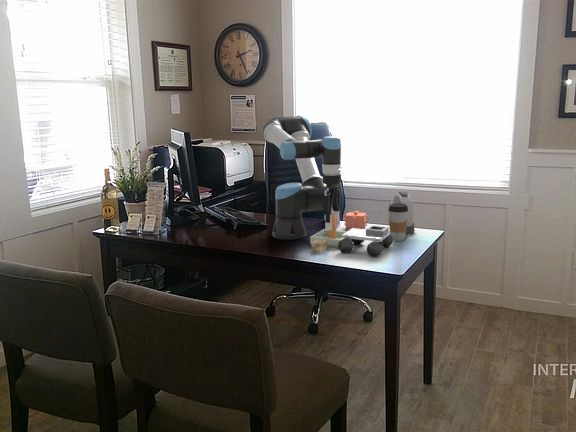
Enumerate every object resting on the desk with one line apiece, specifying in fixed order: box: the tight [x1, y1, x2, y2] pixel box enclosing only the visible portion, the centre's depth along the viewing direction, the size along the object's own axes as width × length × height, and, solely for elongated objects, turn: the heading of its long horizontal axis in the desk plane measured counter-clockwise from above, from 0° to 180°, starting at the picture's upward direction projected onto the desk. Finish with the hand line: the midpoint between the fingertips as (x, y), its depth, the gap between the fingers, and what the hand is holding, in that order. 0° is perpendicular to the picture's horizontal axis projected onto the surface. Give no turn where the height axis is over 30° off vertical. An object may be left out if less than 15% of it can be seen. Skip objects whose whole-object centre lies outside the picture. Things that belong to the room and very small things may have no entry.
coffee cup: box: [388, 203, 408, 242], centre depth 235 cm, size 8×8×15 cm
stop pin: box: [328, 214, 337, 239], centre depth 232 cm, size 4×4×11 cm
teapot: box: [342, 210, 369, 231], centre depth 255 cm, size 12×15×8 cm
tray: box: [309, 228, 351, 249], centre depth 234 cm, size 14×14×4 cm
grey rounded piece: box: [392, 191, 415, 236], centre depth 248 cm, size 16×10×18 cm, turn 4°
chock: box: [311, 239, 328, 254], centre depth 222 cm, size 4×6×4 cm, turn 153°
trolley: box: [337, 224, 394, 258], centre depth 221 cm, size 18×16×9 cm
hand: (331, 227), depth 233 cm, fingers open, 6 cm apart
